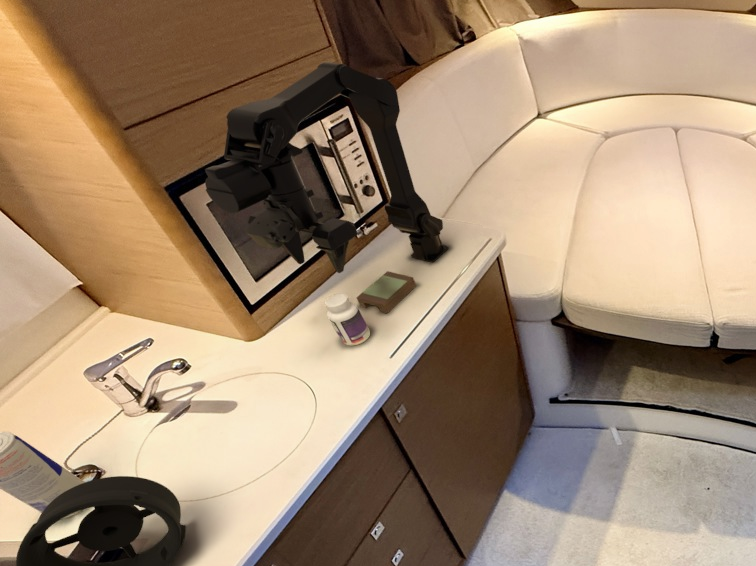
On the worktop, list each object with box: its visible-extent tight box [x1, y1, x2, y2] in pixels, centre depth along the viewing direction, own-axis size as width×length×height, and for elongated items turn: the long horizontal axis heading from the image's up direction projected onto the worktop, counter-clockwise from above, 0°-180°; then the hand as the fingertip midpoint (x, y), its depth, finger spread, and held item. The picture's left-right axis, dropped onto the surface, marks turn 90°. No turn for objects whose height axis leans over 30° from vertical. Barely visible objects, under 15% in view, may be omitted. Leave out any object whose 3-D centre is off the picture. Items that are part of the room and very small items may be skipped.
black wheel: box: [15, 475, 187, 566], centre depth 68 cm, size 14×14×10 cm
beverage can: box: [0, 430, 86, 519], centre depth 73 cm, size 6×6×15 cm
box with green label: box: [355, 270, 417, 314], centre depth 112 cm, size 10×7×3 cm
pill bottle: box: [324, 293, 371, 346], centre depth 100 cm, size 5×5×10 cm
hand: (321, 267), depth 97 cm, fingers open, 9 cm apart
